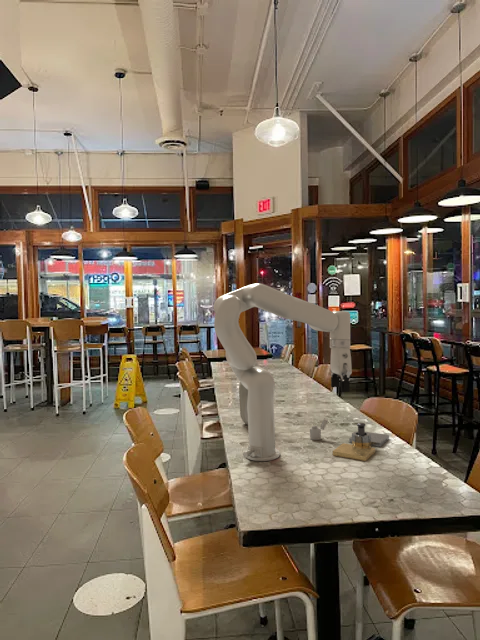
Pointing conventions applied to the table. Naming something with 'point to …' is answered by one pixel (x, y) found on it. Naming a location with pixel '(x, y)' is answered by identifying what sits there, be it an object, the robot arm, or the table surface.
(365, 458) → the hinge
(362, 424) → the dark round-topped peg
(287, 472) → the table surface
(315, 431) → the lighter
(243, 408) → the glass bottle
